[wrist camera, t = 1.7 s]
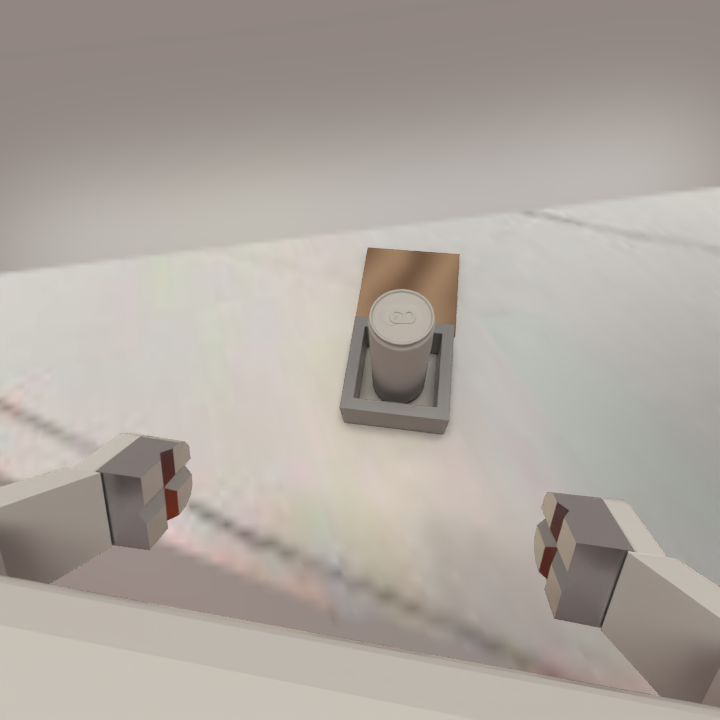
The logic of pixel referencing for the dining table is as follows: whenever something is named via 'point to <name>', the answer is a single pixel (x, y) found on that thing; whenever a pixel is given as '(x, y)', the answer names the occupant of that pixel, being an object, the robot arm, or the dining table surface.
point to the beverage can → (400, 344)
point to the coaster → (412, 279)
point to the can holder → (391, 411)
